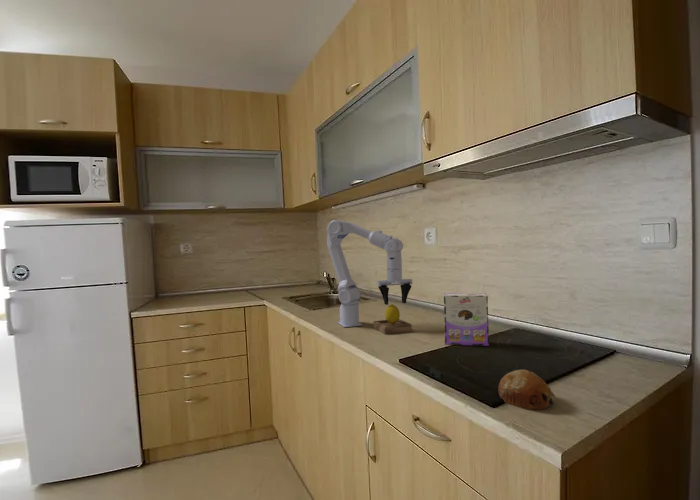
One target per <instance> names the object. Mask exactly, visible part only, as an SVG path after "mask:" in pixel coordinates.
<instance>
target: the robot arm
mask: <svg viewBox="0 0 700 500" xmlns="http://www.w3.org/2000/svg"><path fill="white" fill-rule="evenodd" d="M326 231H327V237H326V246H327V248H328V252H329V256H330V258H331V262H332V265H333V267H334V270H335V271H334V272H335V273H336V277H337V280H338V282H339V283H338V285H337V290H338V291H337V292H338V296H337V297H338V300H339V302H340V303H341V304H340V307H339V321H338V322H337V324H339V325H340V326H342V327H343V328H350V327H360V326H361V327H362V326H363V323H361V322H360V308H359V307H360V305H359V304H360V303H359V300H360V299H361V297H362V291H361V290H360V288H359V287H358V286H357V284H356V281H354V280H353V279H352V276H351V273H350V270H349V267H348V264H347V260H346V258H345V255H344V252H343V249H342V246H341V243H342V242H343V240H344V239H345V238H346V237H347V236H348V235H350V234H354V235H357V236H360V237H362V238H365V239H367V240H368V241H369V243H370V244H371V245H374V246H376V247H378V248H380V249H382V250H385V252H386V271H387V273H386V275H387V276H386V278H387V279H384V280H376V287H378V289H379V291H380V294H381V296H382V299H383V303H384V305H385V306H387V305H388V306H389V292H390V287H388V286H400V290H401V303H402V304H406V303H407V299H408V296H409V293H410V291H411V289H412V285H413V279H412V278H409V279H407V278H405V279H404V278H403V269H402V268H403V267H402V266H403V265H402V263H403V261H402V260H403V259H402V250H403V249H404V243H403V242H402V240H401V239H399V238H397V237H395V238H393V235H392V234H391V235H388V234H386V233H383V231H382V230H381V229H380V230H374V231H370V230H368V229H366V228H365V227H363V226H360V225H358V224H356V223H353V222H349V221H346V220H338V219H333V220H331V221H330V222H329V223H328V225H327V227H326Z"/></svg>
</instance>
